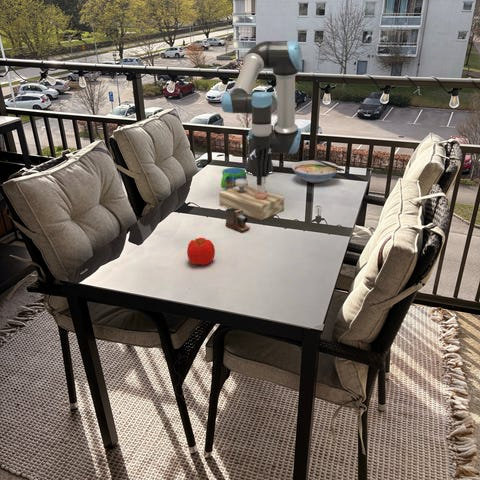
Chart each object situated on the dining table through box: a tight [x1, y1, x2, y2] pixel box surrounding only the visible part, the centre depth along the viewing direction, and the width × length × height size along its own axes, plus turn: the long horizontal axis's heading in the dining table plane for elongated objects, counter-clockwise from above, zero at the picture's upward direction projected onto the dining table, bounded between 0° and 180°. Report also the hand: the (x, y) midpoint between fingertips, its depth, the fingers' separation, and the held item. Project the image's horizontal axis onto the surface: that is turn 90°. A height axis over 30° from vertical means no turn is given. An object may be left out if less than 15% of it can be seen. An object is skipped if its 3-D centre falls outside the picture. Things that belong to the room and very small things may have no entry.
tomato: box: [186, 237, 216, 266], centre depth 150 cm, size 9×9×8 cm
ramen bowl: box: [291, 158, 345, 184], centre depth 226 cm, size 25×23×8 cm
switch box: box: [219, 185, 285, 221], centre depth 194 cm, size 14×24×6 cm, turn 46°
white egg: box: [235, 179, 249, 193], centre depth 196 cm, size 5×5×6 cm
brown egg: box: [255, 190, 268, 199], centre depth 190 cm, size 5×5×6 cm
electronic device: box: [225, 208, 251, 233], centre depth 175 cm, size 4×10×8 cm, turn 44°
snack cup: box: [220, 167, 248, 190], centre depth 212 cm, size 16×10×10 cm
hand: (260, 192), depth 188 cm, fingers closed
